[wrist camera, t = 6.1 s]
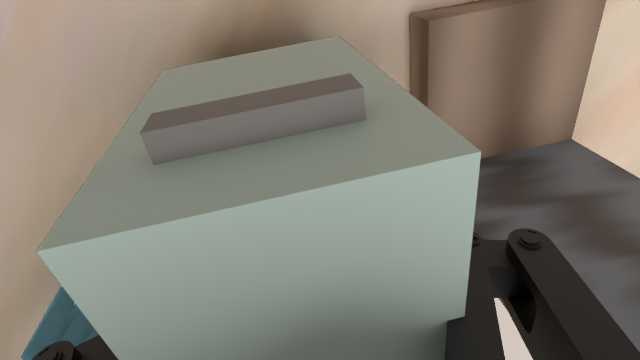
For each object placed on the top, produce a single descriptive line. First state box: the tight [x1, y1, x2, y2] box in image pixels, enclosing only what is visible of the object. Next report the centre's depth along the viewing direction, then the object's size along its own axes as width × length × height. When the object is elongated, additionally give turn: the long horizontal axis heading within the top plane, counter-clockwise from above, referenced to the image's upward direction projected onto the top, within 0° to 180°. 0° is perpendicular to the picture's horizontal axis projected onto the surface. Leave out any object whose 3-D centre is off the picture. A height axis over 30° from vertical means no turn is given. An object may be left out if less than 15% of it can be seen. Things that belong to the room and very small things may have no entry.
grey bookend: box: [409, 0, 640, 352], centre depth 19 cm, size 11×12×18 cm
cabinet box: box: [36, 36, 481, 360], centre depth 15 cm, size 8×13×12 cm, turn 8°
